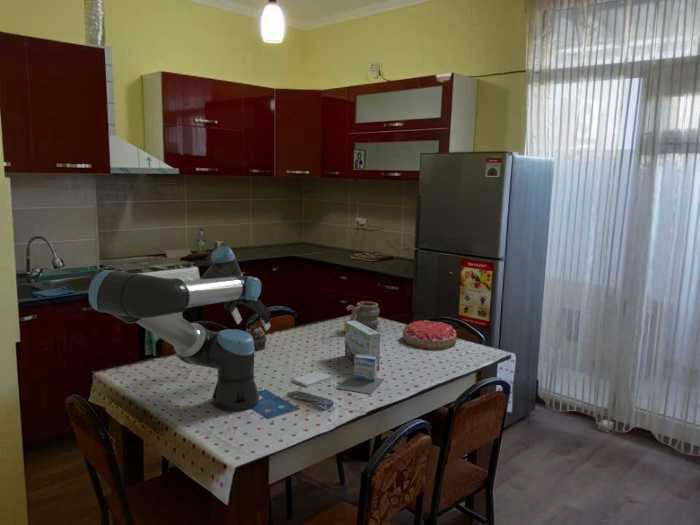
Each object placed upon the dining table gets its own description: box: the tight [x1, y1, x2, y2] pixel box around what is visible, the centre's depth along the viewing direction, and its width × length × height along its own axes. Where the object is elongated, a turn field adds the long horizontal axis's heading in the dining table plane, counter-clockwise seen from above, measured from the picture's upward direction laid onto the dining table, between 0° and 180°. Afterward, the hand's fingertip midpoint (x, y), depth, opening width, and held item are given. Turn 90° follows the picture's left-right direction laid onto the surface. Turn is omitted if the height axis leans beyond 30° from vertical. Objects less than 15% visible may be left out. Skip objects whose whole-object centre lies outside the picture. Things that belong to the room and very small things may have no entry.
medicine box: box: [353, 354, 378, 382], centre depth 207 cm, size 8×4×9 cm, turn 76°
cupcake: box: [245, 324, 267, 352], centre depth 241 cm, size 10×10×10 cm
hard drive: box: [291, 370, 332, 388], centre depth 206 cm, size 2×8×12 cm
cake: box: [402, 319, 458, 350], centre depth 260 cm, size 25×25×8 cm
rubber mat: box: [335, 373, 385, 395], centre depth 203 cm, size 16×13×1 cm
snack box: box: [344, 320, 381, 371], centre depth 226 cm, size 21×6×15 cm, turn 27°
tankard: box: [345, 301, 381, 333], centre depth 270 cm, size 20×13×15 cm, turn 130°
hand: (253, 325), depth 214 cm, fingers open, 13 cm apart
